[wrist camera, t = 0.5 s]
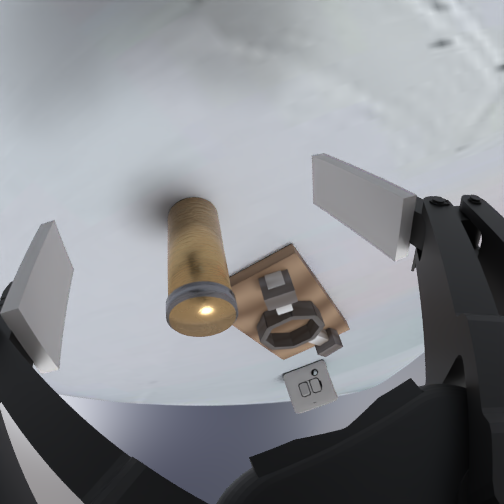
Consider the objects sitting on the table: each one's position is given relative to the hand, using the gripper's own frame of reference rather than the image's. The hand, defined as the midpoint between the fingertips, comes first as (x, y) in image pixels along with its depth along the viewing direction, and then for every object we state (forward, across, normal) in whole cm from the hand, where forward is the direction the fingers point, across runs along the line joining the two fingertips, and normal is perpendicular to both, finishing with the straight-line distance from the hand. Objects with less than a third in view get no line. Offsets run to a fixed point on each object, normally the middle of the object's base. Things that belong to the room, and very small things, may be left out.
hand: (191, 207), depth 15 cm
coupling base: (+18, +12, -26) cm, 34 cm away
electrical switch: (+23, +19, -51) cm, 59 cm away
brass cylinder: (+15, +2, -7) cm, 17 cm away
